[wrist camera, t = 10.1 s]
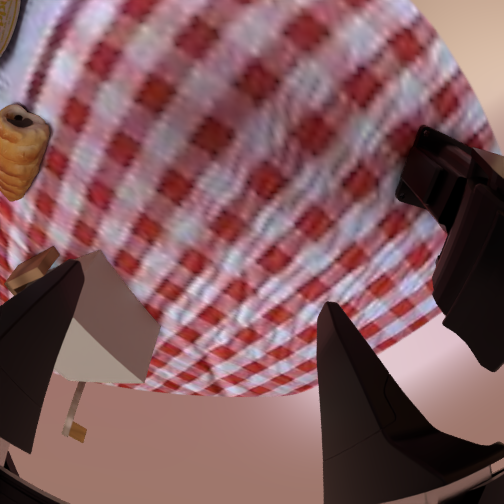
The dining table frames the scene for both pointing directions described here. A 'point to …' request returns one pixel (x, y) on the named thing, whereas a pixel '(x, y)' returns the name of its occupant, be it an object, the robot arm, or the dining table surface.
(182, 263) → the dining table surface
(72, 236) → the dining table surface
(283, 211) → the dining table surface
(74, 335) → the beige box
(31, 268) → the walnut pocket
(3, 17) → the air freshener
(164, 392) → the dining table surface
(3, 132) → the pastry
